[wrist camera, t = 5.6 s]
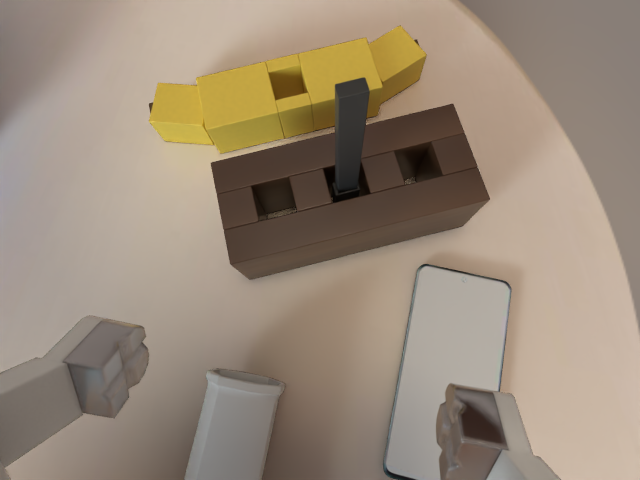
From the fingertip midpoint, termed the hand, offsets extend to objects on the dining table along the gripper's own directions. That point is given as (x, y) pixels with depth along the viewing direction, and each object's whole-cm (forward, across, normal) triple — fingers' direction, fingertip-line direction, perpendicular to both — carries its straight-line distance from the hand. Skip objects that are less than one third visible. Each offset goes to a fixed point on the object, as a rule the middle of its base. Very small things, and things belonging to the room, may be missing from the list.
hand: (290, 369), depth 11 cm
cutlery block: (+22, 0, +6) cm, 23 cm away
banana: (+28, +6, 0) cm, 29 cm away
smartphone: (+14, -9, +14) cm, 22 cm away
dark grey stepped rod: (+22, 0, +6) cm, 23 cm away
